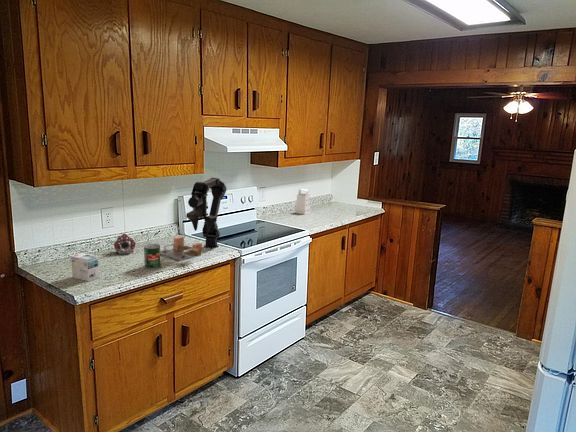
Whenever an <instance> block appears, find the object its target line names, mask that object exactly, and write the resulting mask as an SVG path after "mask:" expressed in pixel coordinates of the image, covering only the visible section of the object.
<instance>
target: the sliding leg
mask: <svg viewBox="0 0 576 432" xmlns="http://www.w3.org/2000/svg"><path fill="white" fill-rule="evenodd" d="M184 239H185V238H184V236H177V237H173V243H169V244H165V245H163V250H164V251H166V249H167V248H168V247H173V245H174V249H175V251H178V245H181V244H182V245H185V244H184V243H185V241H184ZM174 249H173V250H174Z"/></svg>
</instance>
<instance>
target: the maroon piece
mask: <svg viewBox="0 0 576 432" xmlns="http://www.w3.org/2000/svg"><path fill="white" fill-rule="evenodd" d="M113 247H114V250H115V251H116V252H117V253H118V254H119V255H121V256H124V255H130V254H136V251H135V248H136V242H135V241H134V239H133V238H131V237H130V236H129V235H128V234H126V233H122V234H121V235H120V234H119V235H118V236H117V238H116V241H115V242H114V244H113Z"/></svg>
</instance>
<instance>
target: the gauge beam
mask: <svg viewBox="0 0 576 432" xmlns="http://www.w3.org/2000/svg"><path fill="white" fill-rule="evenodd" d="M172 249H173V251H174V250H175V249H174V245H172ZM202 250H203V243H201V242H196V243H192V246H188V245H185V244H184V245H182V244H181V245H178V250H177V252H180V253H181V252H182V254H183V256H185V255H186V254H187V255H192V256H196V257H199V256H202ZM175 251H176V250H175Z"/></svg>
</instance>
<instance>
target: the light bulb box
mask: <svg viewBox="0 0 576 432" xmlns="http://www.w3.org/2000/svg"><path fill="white" fill-rule="evenodd" d="M70 259H71V260H70V262H71V275H72V278H73V279H77V280H82V281H86V282H91V281H94V280H97V279H98V278H100V276H101V275H100V262H99V261H100V260H99V255H94V254H91V253H84V252H80V253H76V254H72V255H70Z"/></svg>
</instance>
